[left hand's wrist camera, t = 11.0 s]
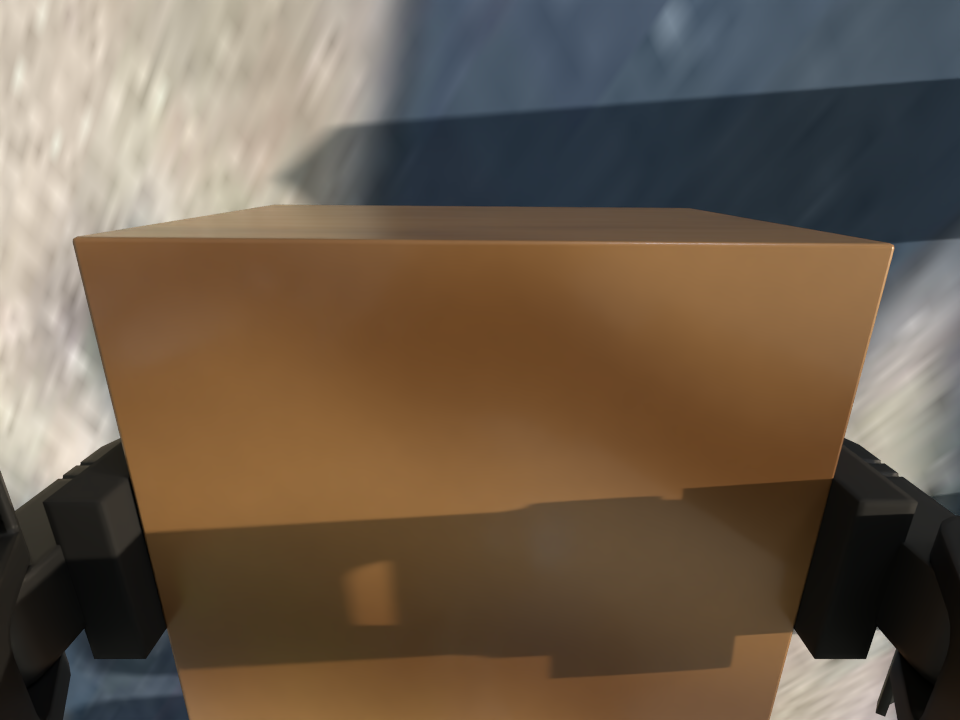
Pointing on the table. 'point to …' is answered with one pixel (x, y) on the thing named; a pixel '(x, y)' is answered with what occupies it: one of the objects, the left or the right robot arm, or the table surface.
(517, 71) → the table surface
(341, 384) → the slab
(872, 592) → the left robot arm
